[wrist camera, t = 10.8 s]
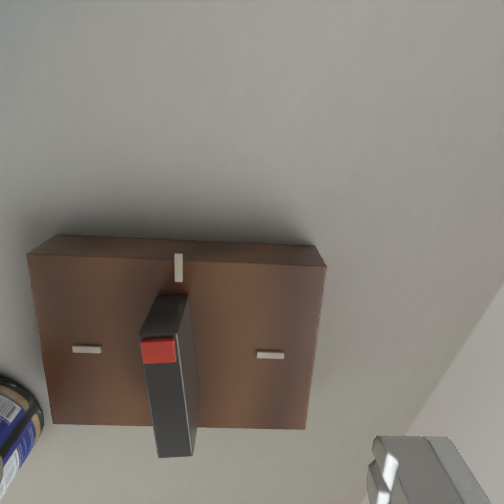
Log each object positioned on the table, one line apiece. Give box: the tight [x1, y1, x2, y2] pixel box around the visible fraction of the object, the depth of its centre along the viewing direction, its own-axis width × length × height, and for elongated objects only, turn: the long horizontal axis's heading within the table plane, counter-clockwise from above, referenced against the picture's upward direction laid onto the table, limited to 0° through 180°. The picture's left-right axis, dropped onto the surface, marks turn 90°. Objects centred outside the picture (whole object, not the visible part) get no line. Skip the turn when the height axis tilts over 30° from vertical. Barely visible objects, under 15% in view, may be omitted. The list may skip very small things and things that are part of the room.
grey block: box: [138, 294, 201, 458], centre depth 17 cm, size 6×2×4 cm, turn 2°
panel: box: [26, 235, 327, 430], centre depth 21 cm, size 14×11×3 cm
